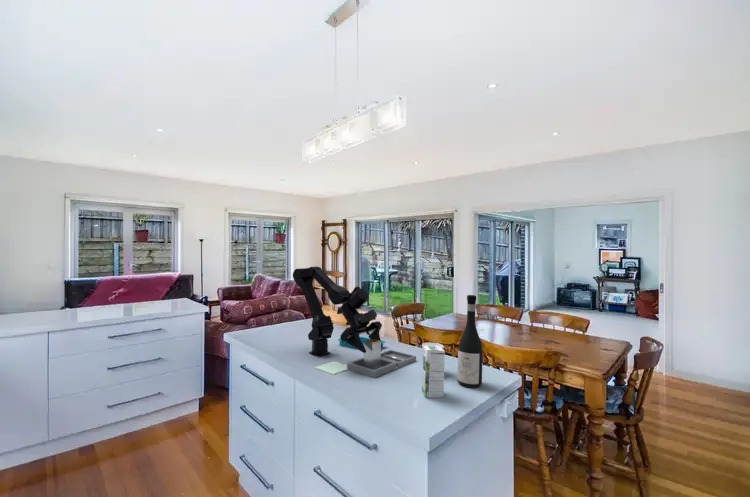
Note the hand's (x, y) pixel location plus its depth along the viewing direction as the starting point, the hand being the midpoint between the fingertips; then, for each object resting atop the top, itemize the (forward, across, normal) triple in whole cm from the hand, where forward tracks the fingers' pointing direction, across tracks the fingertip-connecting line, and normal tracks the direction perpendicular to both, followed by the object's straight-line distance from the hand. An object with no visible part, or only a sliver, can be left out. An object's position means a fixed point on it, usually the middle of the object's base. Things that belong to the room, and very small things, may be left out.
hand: (373, 349), depth 130 cm
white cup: (+18, +13, -7) cm, 23 cm away
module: (+5, 0, +6) cm, 7 cm away
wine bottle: (+28, +12, -17) cm, 35 cm away
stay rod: (+5, +14, +6) cm, 15 cm away
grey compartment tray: (+5, +7, +6) cm, 10 cm away
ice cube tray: (-12, +21, +23) cm, 33 cm away
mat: (-3, -9, +13) cm, 16 cm away
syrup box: (+25, -4, -14) cm, 29 cm away
